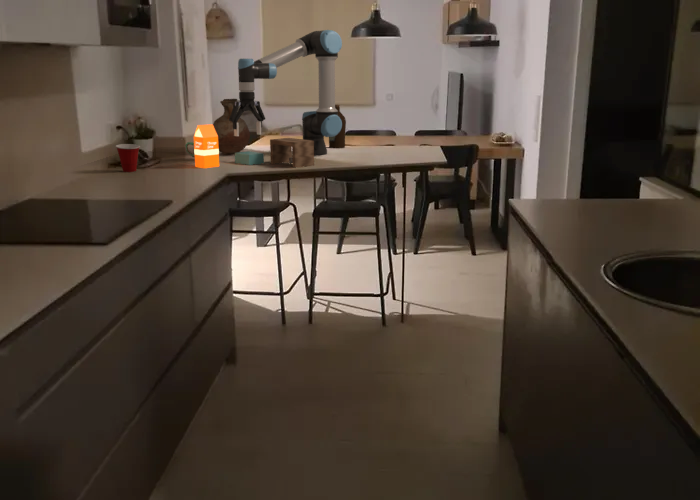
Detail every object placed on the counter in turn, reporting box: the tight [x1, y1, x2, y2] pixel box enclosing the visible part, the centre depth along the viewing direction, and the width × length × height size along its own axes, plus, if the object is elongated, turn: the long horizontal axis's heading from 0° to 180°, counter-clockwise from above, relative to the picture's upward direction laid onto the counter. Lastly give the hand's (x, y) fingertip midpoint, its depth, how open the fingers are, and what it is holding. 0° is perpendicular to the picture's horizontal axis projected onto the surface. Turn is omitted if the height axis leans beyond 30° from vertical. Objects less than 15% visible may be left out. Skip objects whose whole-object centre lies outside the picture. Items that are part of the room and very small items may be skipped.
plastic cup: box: [115, 143, 141, 173], centre depth 315 cm, size 11×11×12 cm
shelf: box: [269, 137, 315, 168], centre depth 336 cm, size 12×19×12 cm, turn 44°
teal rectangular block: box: [234, 150, 265, 166], centre depth 342 cm, size 12×9×5 cm
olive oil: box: [328, 104, 347, 149], centre depth 406 cm, size 11×11×25 cm
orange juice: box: [193, 123, 220, 169], centre depth 328 cm, size 8×9×20 cm
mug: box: [184, 141, 195, 159], centre depth 352 cm, size 15×10×10 cm
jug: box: [213, 98, 251, 156], centre depth 373 cm, size 22×22×30 cm
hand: (247, 135), depth 339 cm, fingers open, 13 cm apart
